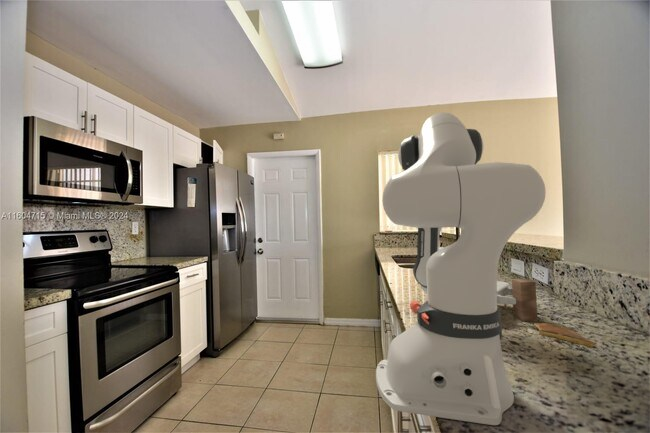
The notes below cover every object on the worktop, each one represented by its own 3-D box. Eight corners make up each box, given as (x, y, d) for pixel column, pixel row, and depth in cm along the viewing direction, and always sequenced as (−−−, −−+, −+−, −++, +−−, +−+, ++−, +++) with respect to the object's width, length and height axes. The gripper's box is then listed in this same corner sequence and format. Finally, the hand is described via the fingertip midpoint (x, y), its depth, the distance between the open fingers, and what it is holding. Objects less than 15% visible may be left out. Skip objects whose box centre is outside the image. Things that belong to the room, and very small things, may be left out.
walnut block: (522, 321, 75) (520, 282, 75) (513, 316, 79) (511, 279, 79) (537, 321, 74) (535, 281, 75) (527, 316, 78) (525, 278, 79)
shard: (597, 350, 58) (596, 342, 58) (557, 348, 60) (557, 340, 60) (562, 330, 69) (561, 323, 69) (529, 329, 70) (529, 322, 70)
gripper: (456, 285, 81) (510, 293, 70) (479, 275, 94) (527, 280, 84) (457, 306, 80) (511, 317, 70) (480, 293, 94) (529, 300, 84)
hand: (520, 297), depth 77 cm, fingers open, 8 cm apart
